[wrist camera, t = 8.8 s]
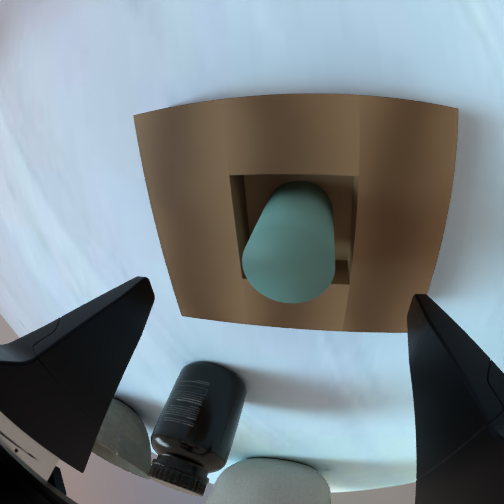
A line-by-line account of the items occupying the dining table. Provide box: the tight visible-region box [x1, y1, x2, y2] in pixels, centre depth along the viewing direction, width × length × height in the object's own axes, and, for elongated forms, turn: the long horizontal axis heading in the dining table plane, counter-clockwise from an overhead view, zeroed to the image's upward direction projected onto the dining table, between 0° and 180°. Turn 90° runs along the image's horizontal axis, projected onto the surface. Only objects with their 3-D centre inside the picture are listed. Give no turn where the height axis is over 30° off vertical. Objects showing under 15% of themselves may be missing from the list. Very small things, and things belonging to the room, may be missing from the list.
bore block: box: [133, 94, 458, 333], centre depth 14 cm, size 14×12×3 cm
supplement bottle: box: [148, 362, 247, 496], centre depth 21 cm, size 7×7×12 cm
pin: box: [242, 180, 335, 303], centre depth 12 cm, size 3×3×5 cm
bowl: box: [92, 398, 151, 479], centre depth 35 cm, size 19×19×10 cm
